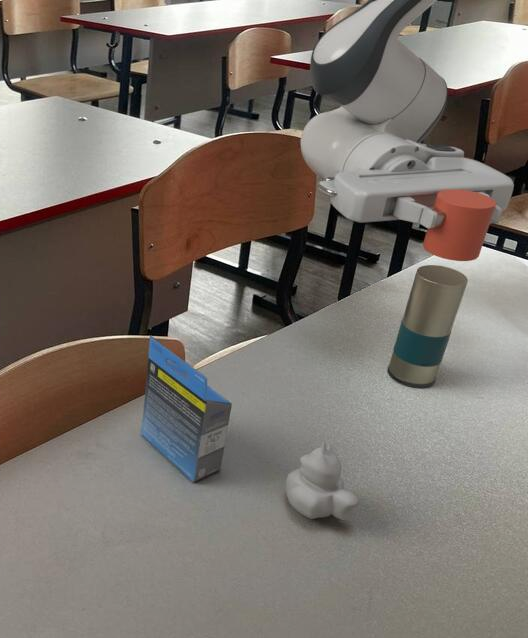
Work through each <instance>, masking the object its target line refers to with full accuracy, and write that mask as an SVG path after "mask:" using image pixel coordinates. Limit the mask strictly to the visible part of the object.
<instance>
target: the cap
mask: <svg viewBox="0 0 528 638" xmlns="http://www.w3.org/2000/svg"><path fill="white" fill-rule="evenodd" d="M495 206H496V202H495V201H494V200H493V199H492V198H490V197H488V196H486V195H483V194H480V193H477V192H472V191H467V190H458V189H449V190H443V191H440V192H439V193H438V194H437V198H436V201H435V205H434V207H436V208H438V209H439V210H441V211H443V212H444V213H445V219H444V220H443V226H442V227H438V228H426V232H425V236H424V240H423V243H422V247H423V250H425V251H426V252H427V253H429V254H431V255H432V256H434V257H437V258H441V259H444V260H449V261H455V262H471V261H474V260H477V259H478V258H479V257H480V254H481V251H482V248H483V245H484V242H485V239H486V237H487V233H488V230H489V227H490V225H491V223H490V221H491V218H492V215H493V212H494V209H495Z"/></svg>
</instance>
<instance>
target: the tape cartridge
mask: <svg viewBox="0 0 528 638" xmlns="http://www.w3.org/2000/svg"><path fill="white" fill-rule="evenodd" d="M148 342H149V343H148V356H147V358H148V359H147V366H146V367H147V368H146V369H147V370H146V379H145V389H144V390H145V391H144V400H143V401H144V402H143V410H142V421H141V430H140V434H141V436H142V437H143V438H145V439H146V441H148V442H149V443H150V444H151V445H152V446H153V447H154V448H155V449H157V450H158V451H159V452H160V453H161V454H162V455H163V456H164V457H165V458H166V459H167V460H168V461H169V462H171V464H173V465H174V466H175V467H176V468H177V469H178V470H179V471H181V472H182V473H183V475H185V476H186V477H187V478H188V479H189V480H190V481H191V482H193V483H195V482H199V481H200V480H202V479H205V478H207V477H209V476H210V475H213V474H216V473H218V472H220V471H221V469H222V462H223V457H224V452H225V447H226V446H225V445H226V440H227V435H228V429H229V422H230V417H231V412H232V406H233V403H232V402H231V401H230V400H228V399H227V398H226V397H224V396H223V395H222V394H220V393H219V392H217V391H216V390H214V388H212V387H211V386H209V385H208V377H207V376H206V375H205V374H203V373H201V372H200V371H199V370H197V369H196V368H195V367H193V366H192V365H191V364H189V363H188V362H187V361H186V360H184V359H183V358H182V357H180V356H179V355H178V354H176V353H175V352H174V351H172V350H171V349H169V348H168V347H167V346H165V345H164V344H163V343H161V342H160V341H159V340H158V339H156V338H155V337H154V336H152V335H149V341H148Z"/></svg>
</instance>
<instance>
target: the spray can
mask: <svg viewBox="0 0 528 638" xmlns="http://www.w3.org/2000/svg"><path fill="white" fill-rule="evenodd" d="M468 282H469V279H468V277H467V276H466V275H465V274H464V273H462V272H461V271H459V270H457V269H454V268H452V267H448V266H444V265H438V264H436V265H435V264H426V265H422V266H419V267H418V268H417V269H416V272H415V275H414V279H413V282H412V286H411V289H410V292H409V295H408V299H407V303H406V306H405V309H404V312H403V316H402V319H401V321H400V325H399V328H398V331H397V335H396V339H395V342H394V345H393V351H392V355H391V357H390V361H389V363H388V366H387V374H388V376H389V377H390V378H391V379H392V380H393V381H395V382H396V383H399V384H400V385H402V386H406V387H408V388H414V389H427V388H430V387H432V386H433V385H434V384H435V382H436V380H437V375H438V372H439V369H440V366H441V363H442V361H443V359H444V356H445V352H446V350H447V347H448V344H449V340H450V339H451V338H450V337H451V334H452V330H453V328H454V323H455V320H456V318H457V315H458V312H459V309H460V306H461V302H462V300H463V297H464V295H465V294H464V293H465V292H466V288H467V285H468Z"/></svg>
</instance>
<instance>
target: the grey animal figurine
mask: <svg viewBox="0 0 528 638" xmlns="http://www.w3.org/2000/svg"><path fill="white" fill-rule="evenodd" d="M299 460H300V464H301V466H300V468H297V469H294V470H292V471H291V472H290V473H288V475H287V476H286V481H285V491H286V492H285V493H286V496H287V500H288V502H289V504H290V506H291V507H292V508H293V509H294V510H296V512H298V513H299V514H301V515H302V516H305V517H306V518H308V519H310V520H315V519H318V518H319V519H321V518H326V517H329V516H332V517H335V518H337V519H339V520H343V521H346V520H347V521H348V520H349V519H350V518H351V517H352V511H353V510H354V509H355V508H356V507H357V506H358V504H359V498H358V496H357V495H356V494H355V493H353V492H352V491H350V490H348V489H346V488H345V489H344V487H345V486H344V485H345V484H344V483H345V482H344V479H343V478H342V477H341V474H342V463H341V460H340V458H339V456H338V454H337V452H336V451H335V449H334V447H333V446H332V445H329V446H327V444H326V440H325V439H324V440H323V441H322V444H321V446H320V447H317V448H315V449H313V450H312V451H310V453H308V454H304V455H302V456H301V457H300V459H299Z"/></svg>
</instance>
